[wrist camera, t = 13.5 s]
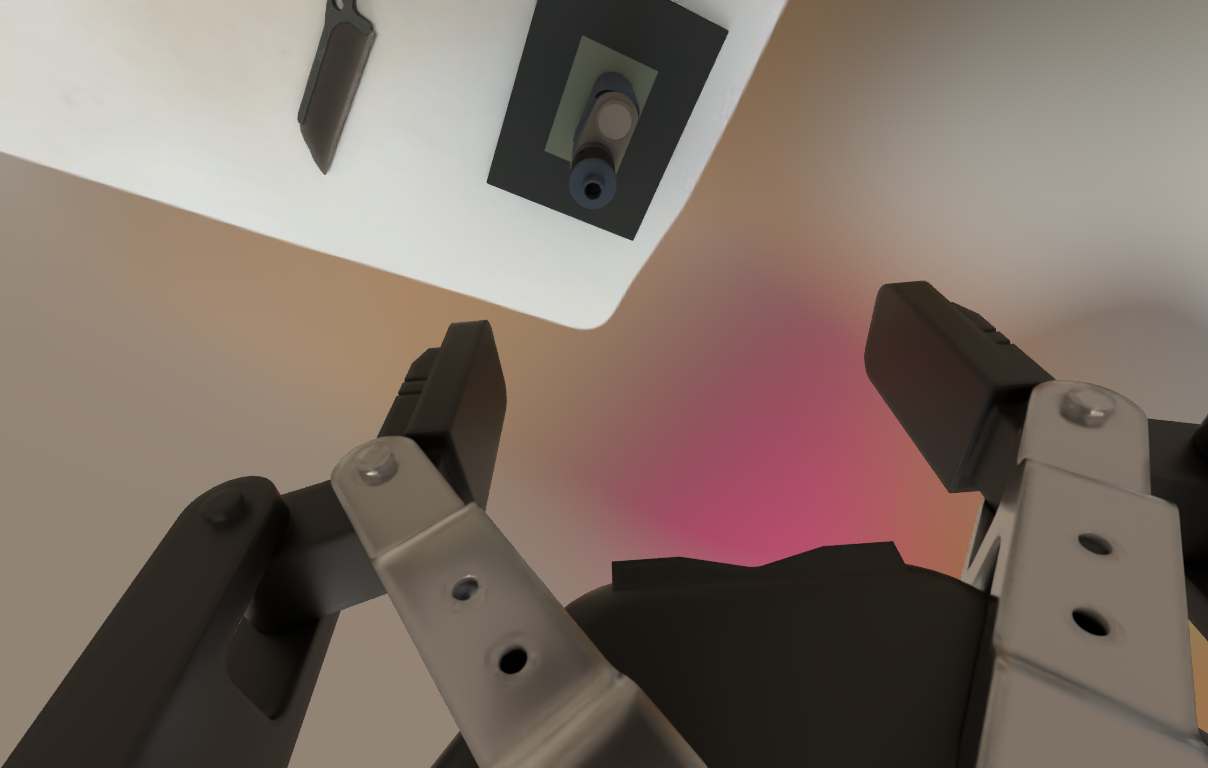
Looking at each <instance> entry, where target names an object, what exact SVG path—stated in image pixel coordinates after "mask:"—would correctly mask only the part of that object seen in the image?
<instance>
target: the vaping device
mask: <svg viewBox="0 0 1208 768" xmlns="http://www.w3.org/2000/svg"><path fill="white" fill-rule="evenodd" d="M639 115H640V106H639V103H638V101H637V98H636V95H635V92H634V90H633V87H632V84H631V83H630V82H629V80H628V79H627V78H626V77H624V76H623V75H621V74H619V73H616V72H607V73H604V74H602V75H601V76H599V77H598V79H597V80H596V82H595V84H594V87H593V89H592V92H591V95H590V97H589V100H588V102H587V105H586V108H585V110H584V112H583V115H582V117H581V119H580V122H579V124H578V126H577V129H576V131H575V136H574V139H573V142H574V143H573V151H572V158H571V161H570V169H571V172H570V180H569V188H570V192H571V195H572V197H573V199H574V200H575V201H576V202H577V203H578V204H579V205H581V206H583V207H585V208H589V209H597V208H601V207H603V206H605V205H607V204H608V203H609V202H610V201H611V200H612V199H613V197H614V195H615V192H616V188H617V181H616V172H615V168H616V166H617V164H618V162H619V160H620V158H621V156H622V154H623V152H624V150H625V148H626V146H627V144H628V142H629V139H630V137H631V135H632V133H633V131H634V129H635V127H636V125H637V122H638V118H639Z"/></svg>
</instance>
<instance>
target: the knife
mask: <svg viewBox="0 0 1208 768" xmlns="http://www.w3.org/2000/svg"><path fill="white" fill-rule="evenodd" d="M342 2H343V5H344V7H343V9H342V10H341V11H340V10H338V9H337V8H336V7H335V5H334V0H327V5H326V13H325V25H324V29H323V32H322V35H321V39H320V42H319V45H318V49H317V52H316V55H315V59H314V62H313V65H312V69H311V72H310V75H309V79H308V82H307V85H306V89H305V92H304V95H303V99H302V102H301V105H300V109H299V112H298V118H297V119H298V123H300V128H301V133H302V135H303V138H304V140H305V142H306V144H307V146H308V148H309V149H310V152H311V154H312V157H313V159H314V161H315V162H316V164H317V166H318V167H319V169H320V170H321V171H322V173H323V174H324V175H326V173H327V170H328V167H329V164H330V161H331V158H332V156H333V153H334V150H335V147H336V144H337V141H338V138H339V135H340V133H341V130H342V127H343V124H344V121H345V118H346V115H347V112H348V110H349V107H350V104H351V101H352V98H353V95H354V92H355V89H356V87H357V84H358V81H359V78H360V75H361V72H362V69H363V66H364V63H365V61H366V58H367V55H368V52H369V49H370V46H371V43H372V40H373V38H374V35H375V34H374V33H373V32H372V26H371V24H370V22H368V21H367V20H365V19H364V18H363V17H361V16H360V15H359V14H358V13H357V12H356V10H355V9H354V0H342Z"/></svg>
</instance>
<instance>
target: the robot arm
mask: <svg viewBox="0 0 1208 768" xmlns="http://www.w3.org/2000/svg"><path fill="white" fill-rule="evenodd" d="M864 360H865V368H866V372H867V375H868V377H869V379H870V381H871V382H872V384H873V385H874V386H875V388H876V389H877V391H878V392H879V394H880V395H881V396H882V398H883V399H884V401H885V402H886V403H887V405H888V406H889V408H890V409H891V411H892V412H893V414H894V415H895V416H896V418H897V419H898V421H899V422H900V424H901V425H902V426H903V428H904V429H905V431H906V432H907V434H908V435H909V436H910V438H911V439H912V441H913V442H914V443H915V445H916V446H917V448H918V449H919V451H920V452H921V453H922V455H923V456H924V458H925V459H926V461H927V462H928V463H929V465H930V466H931V468H932V469H933V471H934V472H935V473H936V475H937V476H938V477H939V479H940V481H941V482H942V483H943V485H944V486H945V488H946V489H947V491H948V492H949V493H959V492H971V491H980V492H981V493H982V495H983V496H984V499H983V501H982V503H981V506H980V508H979V510H978V513H977V517H976V521H975V525H974V529H973V533H972V536H971V540H970V544H969V549H968V552H967V556H966V560H965V564H964V568H963V572H962V576H961V580H958V579H956V578H954V577H951V576H949V575H946V574H942V573H940V572H937V571H933V570H930V569H926V568H922V567H918V566H914V565H909V564H905V563H904V561H903V559H902V557H901V555H900V553H899V552H898V550H897V548H896V546H895V545H894V542H893V541H890V542H875V543H863V544H848V545H835V546H822V547H819V548H816V549H813V550H810V551H807V552H803V553H801V554H797V555H794V556H791V557H788V558H785V559H782V560H779V561H775V562H772V563H769V564H766V565H763V566H759V567H746V566H739V565H732V564H726V563H719V562H712V561H705V560H699V559H692V558H684V557H671V558H670V557H669V558H657V559H642V560H628V561H614V562H612V583H611V584H608V585H605V586H602V587H599V588H597V589H595V590H593V591H590V592H588V593H586V594H584V595H583V596H581V597H579V598H578V599H576V600H574V601H573V602H571V603H570V604H568V605H567V606H566V607H565V608H564V607H563V606H562V605H561V604H560V602H559V601H558V600H557V599H556V598H555V597H554V595H553V594H552V593H551V592H550V591H549V589H548V588H547V587H546V586H545V584H544V583H543V582H542V581H541V579H540V578H539V577H538V576H537V575H536V573H535V572H534V571H533V570H532V568H531V567H530V566H529V565H528V564H527V562H526V561H525V560H524V559H523V558H522V556H521V555H520V554H519V553H518V552H517V550H516V549H515V548H514V547H513V545H512V544H511V543H510V542H509V541H508V539H507V538H506V537H505V536H504V535H503V533H502V532H501V531H500V530H499V529H498V527H497V526H496V525H495V524H494V523H493V521H492V520H491V519H490V518H489V516H488V515H487V514H486V513H485V510H486V505H487V500H488V495H489V490H490V485H491V480H492V475H493V471H494V465H495V461H496V456H497V451H498V446H499V441H500V436H501V431H502V426H503V421H504V417H505V412H506V403H507V400H506V399H507V397H506V386H505V380H504V376H503V372H502V368H501V364H500V360H499V356H498V352H497V348H496V344H495V340H494V336H493V332H492V328H491V325H490V323H489V322H488V321H487V320H479V321H469V322H458V323H451V324H450V326H449V328H448V331H447V333H446V335H445V338H444V340H443V342H442V345H441V347H440V348H429V349H428V350H426V351H425V352H424V353H423V354H422V355H421V356H420V357H419V358H418V359H416V360H415V361H414V362H413V363H412V365H411V367H410V369H409V371H408V374H407V375H406V377H405V382H404V383H403V384H402V386H401V388H400V390H399V392H398V394H399V396H396V398H395V400H394V403H393V405H392V407H391V409H390V411H389V413H388V415H387V417H386V419H385V421H384V424H383V426H382V428H381V430H380V432H379V434H378V436H377V438H376V439H373V440H370V441H367V442H365V443H363V444H361V445H359V446H357V447H355V448H354V449H352V450H351V451H349V452H348V453H347V454H346V455H345V456H343V457H342V458H341V459H340V460H339V462H338V463H337V464H336V466H335V467H334V469H333V471H332V474H331V479H330V480H328V481H325V482H322V483H319V484H315V485H312V486H309V487H306V488H303V489H300V490H296V491H293V492H289V493H287V494H283V495H280V493H279V492H278V490H277V488H276V487H275V485H274V484H273V483H272V482H271V481H270V480H268V479H267V478H263V477H259V476H247V477H241V478H237V479H233V480H230V481H227V482H224V483H222V484H220V485H218V486H216V487H213V488H212V489H210V490H208V491H206V492H205V493H203V494H202V495H200V496H199V497H198V498H196V499H195V500H194V501H193V502H191V504H189V505H188V506H187V507H186V508H185V509H184V511H183V512H182V513H181V514H180V516H179V517H178V518H177V520H176V521H175V523H174V524H173V525H172V527H171V528H170V530H169V531H168V533H167V534H166V535H165V537H164V538H163V540H162V541H161V542H160V544H159V545H158V547H157V548H156V550H155V551H154V552H153V554H152V555H151V557H150V558H149V560H148V561H147V562H146V564H145V565H144V567H143V568H142V569H141V571H140V572H139V574H138V575H137V576H136V578H135V579H134V581H133V582H132V583H131V585H130V586H129V588H128V589H127V591H126V592H125V593H124V595H123V596H122V598H121V599H120V600H119V602H118V603H117V605H116V606H115V608H114V609H113V610H112V612H111V613H110V615H109V616H108V618H107V619H106V620H105V622H104V623H103V624H102V626H101V627H100V629H99V630H98V632H97V633H96V634H95V636H94V637H93V639H92V640H91V641H90V643H89V645H88V646H87V647H86V649H85V650H84V651H83V653H82V654H81V656H80V657H79V658H78V660H77V661H76V663H75V664H74V666H73V667H72V669H71V670H70V671H69V673H68V674H67V675H66V677H65V678H64V680H63V681H62V683H61V684H60V685H59V687H58V688H57V690H56V691H55V693H54V694H53V695H52V697H51V698H50V700H49V701H48V702H47V704H46V705H45V707H44V708H43V710H42V711H41V712H40V714H39V715H38V716H37V718H36V720H35V721H34V722H33V724H32V725H31V726H30V728H29V729H28V731H27V732H26V733H25V735H24V736H23V738H22V739H21V741H20V742H19V743H18V745H17V746H16V748H15V749H14V751H13V752H12V753H11V755H10V756H9V757H8V759H7V761H6V762H5V763H4V765H3V766H2V767H1V768H287V767H288V764H289V761H290V758H291V755H292V752H293V749H294V746H295V743H296V740H297V738H298V734H299V732H300V728H301V726H302V723H303V720H304V717H305V714H306V711H307V708H308V705H309V702H310V699H311V696H312V693H313V690H314V687H315V684H316V682H317V679H318V675H319V672H320V670H321V667H322V664H323V661H324V658H325V655H326V652H327V649H328V646H329V643H330V640H331V637H332V634H333V631H334V628H335V625H336V623H337V620H338V617H339V614H340V611H341V610H343V609H345V608H348V607H351V606H354V605H357V604H359V603H362V602H365V601H368V600H370V599H373V598H376V597H379V596H381V595H384V594H387V593H388V595H389V597H390V599H391V601H392V603H393V605H394V606H395V608H396V610H397V612H398V614H399V616H400V618H401V619H402V622H403V623H404V625H405V627H406V629H407V631H408V633H409V635H410V637H411V638H412V640H413V642H414V644H415V646H416V648H417V650H418V652H419V654H420V656H421V658H422V660H423V661H424V663H425V665H426V667H427V669H428V671H429V673H430V675H431V676H432V678H433V680H434V682H435V684H436V686H437V688H438V690H439V692H440V694H441V696H442V697H443V699H444V701H445V703H446V705H447V707H448V709H449V711H450V713H451V714H452V717H453V718H454V720H455V722H456V724H457V726H458V728H459V730H460V731H459V733H458V734H457V735H456V736H455V738H454V739H453V740H452V741H451V743H450V744H449V745H448V746H447V748H446V749H445V750H444V751H443V753H442V754H441V755H440V756H439V758H438V759H437V760H436V762H435V763H434V764H433V765H432V767H431V768H1208V733H1206V732H1204V731H1203V730H1201V729H1200V728H1198V725H1197V714H1196V703H1195V691H1194V679H1193V669H1192V657H1191V645H1190V633H1189V622H1188V619H1189V620H1190V621H1191V622H1192V623H1193V625H1194V626H1195V627H1196V628H1197V629H1198V630H1199V631H1200V633H1201V634H1202V635H1203V636H1204V637H1205V638H1206V639H1207V641H1208V415H1207V416H1206V417H1205V419H1204V420H1203V422H1202V423H1201V424H1192V423H1182V422H1174V421H1165V420H1156V419H1147V416H1146V415H1145V413H1144V412H1143V411H1142V409H1140V407H1139V406H1138V405H1136V404H1135V403H1134V402H1133V401H1131V400H1129V399H1128V398H1126V397H1125V396H1123V395H1121V394H1119V393H1117V392H1114V391H1112V390H1110V389H1107V388H1104V387H1101V386H1098V385H1094V384H1090V383H1086V382H1080V381H1072V380H1055V379H1054V378H1053V377H1052V376H1051V375H1050V374H1049V373H1047V372H1046V371H1045V370H1044V369H1043V368H1041V367H1040V366H1039V365H1038V364H1037V363H1036V362H1035V361H1033V360H1032V359H1031V358H1030V357H1029V356H1027V355H1026V354H1025V353H1024V352H1023V351H1022V350H1020V349H1019V348H1018V347H1017V346H1016V345H1015V344H1010V340H1009V339H1007V338H1006V337H1005V336H1004V335H1003V334H1002V333H1000V332H996V328H995V327H993V326H992V325H991V324H990V323H989V322H988V321H986V320H985V319H984V318H983V317H982V316H981V315H979V314H978V313H975V312H973V311H971V310H968V309H967V308H965V307H962V306H960V305H958V304H956V303H954V302H950V301H949V300H947V299H946V298H945V297H944V296H943V295H942V294H941V293H939V292H938V291H937V290H936V289H935V288H934V287H933V286H932V285H931V284H929V283H928V282H926V281H914V282H903V283H892V284H885V285H883V286H882V287H881V288H880V290H879V291H878V294H877V297H876V302H875V306H874V311H873V315H872V321H871V325H870V329H869V334H868V338H867V343H866V347H865V355H864ZM243 615H244V616H243ZM242 617H243V618H242ZM241 619H242V620H241ZM240 621H241V622H240ZM239 623H240V624H239ZM238 625H239V626H238ZM237 627H238V628H237ZM236 629H237V630H236ZM235 631H236V632H235ZM234 633H235V634H234ZM233 635H234V636H233ZM232 637H233V638H232Z"/></svg>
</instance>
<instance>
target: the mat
mask: <svg viewBox="0 0 1208 768" xmlns="http://www.w3.org/2000/svg"><path fill="white" fill-rule="evenodd" d="M728 32H729V31H728V30H726V29H724V28H722V27H720V26H718V25H717V24H715V23H713V22H711V21H709V20H707V19H705V18H703V17H701V16H699V15H697V14H695V13H693V12H691V11H689V10H687V9H685V8H684V7H682V6H680V5H678V4H676V3H674V2H672V1H670V0H537V4H536V8H535V11H534V15H533V18H532V22H531V25H530V29H529V33H528V36H527V40H526V43H525V47H524V50H523V54H522V58H521V61H520V65H519V68H518V72H517V76H516V79H515V83H514V86H513V90H512V93H511V97H510V101H509V104H508V108H507V111H506V115H505V118H504V122H503V126H502V129H501V133H500V136H499V140H498V143H497V147H496V151H495V154H494V158H493V161H492V165H491V168H490V172H489V176H488V179H487V183H488V184H490V185H493V186H495V187H498V188H500V189H503V190H505V191H508V192H510V193H513V194H515V195H518V196H521V197H523V198H526V199H528V200H531V201H533V202H536V203H538V204H541V205H543V206H546V207H548V208H551V209H553V210H556V211H558V212H561V213H564V214H566V215H569V216H571V217H574V218H576V219H579V220H581V221H584V222H586V223H589V224H591V225H594V226H596V227H599V228H601V229H604V230H606V231H609V232H612V233H614V234H617V235H619V236H622V237H624V238H627V239H629V240H632V241H633V240H634V238H635V236H636V233H637V231H638V229H639V227H640V225H641V222H642V220H643V218H644V216H645V214H646V211H647V209H648V207H649V205H650V203H651V201H652V198H653V196H654V194H655V192H656V190H657V187H658V185H659V183H660V181H661V179H662V176H663V174H664V172H665V170H666V168H667V166H668V163H669V161H670V159H671V157H672V155H673V152H674V150H675V148H676V146H677V144H678V141H679V139H680V137H681V135H682V133H683V131H684V128H685V126H686V124H687V122H688V120H689V117H690V115H691V113H692V111H693V109H694V106H695V104H696V102H697V100H698V98H699V96H700V93H701V91H702V89H703V87H704V85H705V82H706V80H707V78H708V76H709V74H710V71H711V69H712V67H713V65H714V63H715V61H716V58H717V56H718V54H719V52H720V50H721V47H722V45H723V43H724V41H725V39H726V36H727V34H728ZM607 72H616V73H619V74H621V75H623V76H624V77H626V78H627V79H628V80H629V82H630V83H631V84H632V87H633V90H634V92H635V95H636V98H637V101H638V103H639V106H640V115H639V118H638V122H637V125H636V127H635V129H634V131H633V133H632V135H631V137H630V139H629V142H628V144H627V146H626V148H625V150H624V152H623V154H622V156H621V158H620V160H619V162H618V164H617V166H616V168H615V172H616V181H617V188H616V192H615V195H614V197H613V199H612V200H611V201H610V202H609V203H608V204H607V205H605V206H603V207H601V208H597V209H589V208H585V207H583V206H581V205H579V204H578V203H577V202H576V201H575V200H574V199H573V197H572V195H571V192H570V188H569V180H570V172H571V169H570V161H571V158H572V151H573V143H574V142H573V139H574V136H575V131H576V129H577V126H578V124H579V122H580V119H581V117H582V115H583V112H584V110H585V108H586V105H587V102H588V100H589V97H590V95H591V92H592V89H593V87H594V84H595V82H596V80H597V79H598V77H599V76H601V75H602V74H604V73H607Z"/></svg>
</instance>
